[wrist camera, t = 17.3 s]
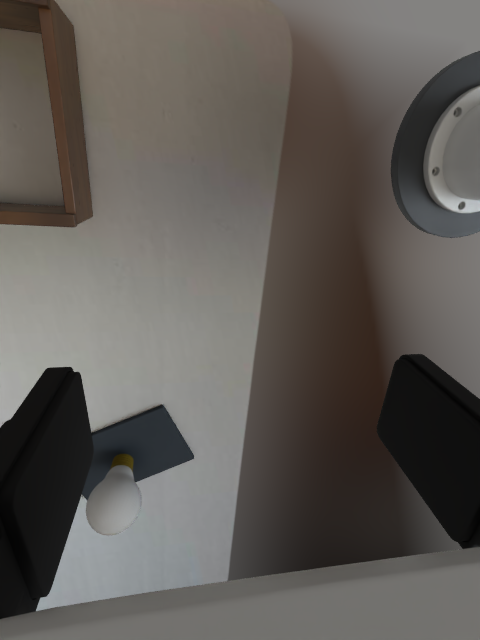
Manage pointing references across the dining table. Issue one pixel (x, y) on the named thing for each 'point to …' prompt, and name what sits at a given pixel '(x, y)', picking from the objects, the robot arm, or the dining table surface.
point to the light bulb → (115, 499)
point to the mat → (138, 447)
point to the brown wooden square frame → (55, 113)
